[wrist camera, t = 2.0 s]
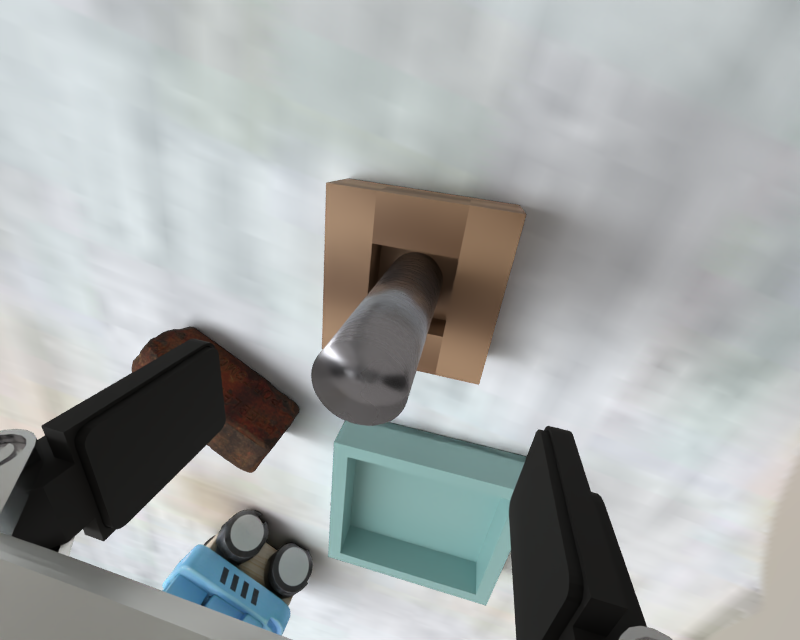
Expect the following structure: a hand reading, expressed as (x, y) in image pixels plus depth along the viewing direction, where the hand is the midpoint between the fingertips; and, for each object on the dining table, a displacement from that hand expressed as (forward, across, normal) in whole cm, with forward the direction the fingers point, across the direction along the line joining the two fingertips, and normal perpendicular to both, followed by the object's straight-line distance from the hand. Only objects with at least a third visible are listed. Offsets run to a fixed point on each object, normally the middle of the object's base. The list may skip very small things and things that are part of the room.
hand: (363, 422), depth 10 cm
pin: (+11, +1, -1) cm, 11 cm away
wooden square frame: (+12, +1, -1) cm, 12 cm away
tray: (+12, -2, +17) cm, 21 cm away
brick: (+12, +13, +10) cm, 21 cm away
